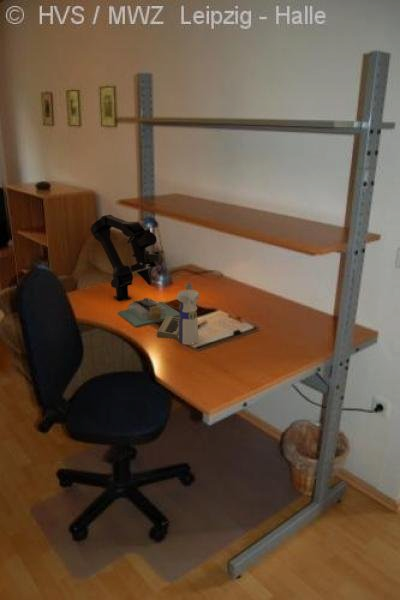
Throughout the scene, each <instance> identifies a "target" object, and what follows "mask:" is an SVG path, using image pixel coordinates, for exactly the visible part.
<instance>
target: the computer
mask: <svg viewBox="0 0 400 600" xmlns="http://www.w3.org/2000/svg"><path fill="white" fill-rule="evenodd" d="M161 323H162V324H161V325H160V327H159V329H157V332H156V338H165V339H177V338H178V337H179V317H172V316H167V317H166V318H165V320H164V321H162V322H161Z"/></svg>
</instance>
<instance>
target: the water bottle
mask: <svg viewBox="0 0 400 600" xmlns="http://www.w3.org/2000/svg"><path fill="white" fill-rule="evenodd" d="M183 286H185V288H186V289H182V290H180V291H178V293H177V295H176V299H177V301H179V302H180V304H179V307H178V310H179V313H180V317H178V318H179V334H178V343H180V344H181V345H189V346H190V344H191V345H193V344H192V343H195V344H197V343H198V342H199V326H198V323H199V322H198V320H199V319H198V313H197V310H198V307H197V303H198V302H199V301H200V295H199V292H198V291H197V290H194V289H192V287H193V286H194V284H191V283H190V281H188V282H187V284H184V285H183ZM197 341H198V342H197ZM196 342H197V343H196Z"/></svg>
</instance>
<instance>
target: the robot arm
mask: <svg viewBox="0 0 400 600" xmlns="http://www.w3.org/2000/svg"><path fill="white" fill-rule="evenodd" d="M112 228H114V229H117V230H119V231H120V232H121V233H122V235H124V236H125V237H127V238H128V240H127V242H126V243H127V244H130V246H131V249H132V258H134V259H135V264H132V265H130V266H129V265H124V263H123V261H122V260H121V257H120V256H119V255H120V254H119V253H118V251H117V249H116V247H115V245H114V243H113V241H112V239H111V233H112V232H111V229H112ZM90 233H91V234H92V236H93V238H94V239H95V240H97V241H98V242H100V244H101V246H102V249H103V250H104V253H105V254H106V257H107V259H108V261H109V262H110V265H111V266H112V271H113V272H112V276H113V278H112V280H111V281H110V286H111V288H113V289H115V295H113V298H114V299H116V301H118V302H122V301H126V300H131V299H132V297H131V296H130V295H129V286H132V285H133V279H134V275H133V273H135V272H136V274H138V275H139V276H140V277H141V278H142V279H143V280H144V281H145V283H146V284H147V285H148V286H150V285H152V282H153V281H152V271H153V270H154V268H155V267H157V266H159V262H162V258H163V256H162V255H163V254H161V252H160V251H154V253H150V251H149V250H147V249H146V248H149V247H152V246H153V245H156V243H157V237H156V235H155V233H153V232H152V231H151V230H150V229H145V228H144V227H143V226H142V224H141V223H140V222H139V221H126V220H124V219H121V218H119V217H116V216H114V215H112V214H105V215H102V216H101V217H100V218H98V219H97V221H94V223H92V224H91V227H90Z"/></svg>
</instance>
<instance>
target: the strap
mask: <svg viewBox="0 0 400 600" xmlns="http://www.w3.org/2000/svg"><path fill="white" fill-rule="evenodd" d="M137 301H138V303H140V304H142V305H145V306H147V307H152V306H157V305H156V304H154V303H151V302H149V301H146V300H144V298H143V299H140V300H137Z"/></svg>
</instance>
